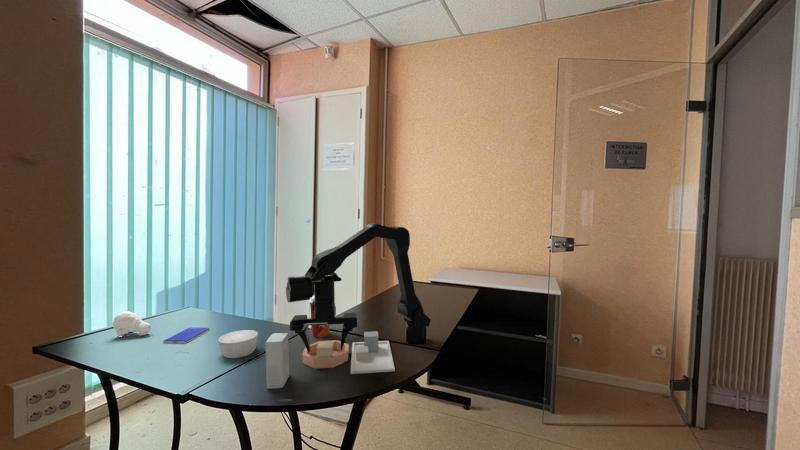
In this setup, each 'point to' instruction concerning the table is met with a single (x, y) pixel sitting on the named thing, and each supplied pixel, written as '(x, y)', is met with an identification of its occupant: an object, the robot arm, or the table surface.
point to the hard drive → (186, 335)
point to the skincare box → (277, 360)
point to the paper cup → (318, 329)
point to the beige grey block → (362, 353)
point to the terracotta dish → (326, 362)
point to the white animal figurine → (130, 324)
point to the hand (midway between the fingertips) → (325, 350)
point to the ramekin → (238, 343)
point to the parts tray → (373, 359)
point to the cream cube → (325, 349)
